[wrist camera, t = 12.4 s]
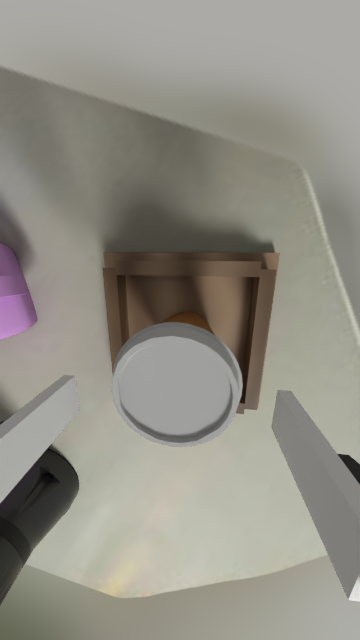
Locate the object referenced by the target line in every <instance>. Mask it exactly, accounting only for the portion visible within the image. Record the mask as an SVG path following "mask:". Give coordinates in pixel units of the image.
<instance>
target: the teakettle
mask: <svg viewBox="0 0 360 640" xmlns="http://www.w3.org/2000/svg"><path fill="white" fill-rule="evenodd" d="M36 322H37V315H36V311H35V308H34V305H33V301H32V298H31V295H30V292H29V290H28V287H27V284H26V281H25V279H24V276H23V273H22V271H21V268H20V266H19V263H18V261H17V259H16V256H15V254H14V252H13V251H12V249H11V248H9V247H7V246H5V245H3V244H0V339H3V338H7V337H10V336H13V335H16V334H18V333H21V332H23V331H25V330H27V329H28V328H30V327H31V326H33V325H34V324H35V323H36Z"/></svg>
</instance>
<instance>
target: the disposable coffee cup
mask: <svg viewBox="0 0 360 640" xmlns="http://www.w3.org/2000/svg"><path fill="white" fill-rule="evenodd" d="M242 387H243V383H242V374H241V371H240V368H239V364H238V362H237V360H236V358H235V356H234V355H233V353H232V352H231V350H230V349H229V348H228V346H227V345H226V344H225V343H224V342H222V341H221V340H220V339H219V338H218V337H217V336H215V334H214V333H213V331H212V330H211V328H210V326H209V325H208V323H207V322H206V320H205V319H204V318H203V317H201V316H200V315H198V314H196V313H193V312H179V313H176V314H174V315H172V316H170V317H169V318H167V319H166V320H164V321H163V322H161V323H160V324H156V325H152V326H150V327H147V328H145V329H143V330H141V331H139V332H138V333H136V334H134V335H133V336H132V337H131V338H130V339H129V340H128V341H127V342H126V343H125V344H124V345H123V347H122V348H121V350H120V351H119V353H118V355H117V358H116V360H115V363H114V369H113V378H112V395H113V400H114V403H115V406H116V408H117V410H118V412H119V414H120V415H121V417H122V418H123V420H124V421H125V422H126V423H127V424H128V425H129V427H130V428H132V429H133V430H134V431H136V432H137V433H138V434H140V435H141V436H143V437H145V438H146V439H148V440H150V441H152V442H156V443H159V444H162V445H166V446H172V447H188V446H195V445H199V444H203V443H205V442H208V441H210V440H212V439H213V438H215V437H217V436H218V435H220V434H221V433H222V432H223V431H224V430H225V429H226V428H227V427H228V425H229V424H230V423H231V422H232V420H233V418H234V415H235V413H236V410H237V407H238V404H239V402H240V399H241V395H242Z"/></svg>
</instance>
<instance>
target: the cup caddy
mask: <svg viewBox="0 0 360 640" xmlns="http://www.w3.org/2000/svg"><path fill="white" fill-rule="evenodd" d="M279 254H280V253H104V261H105V268H103V276H104V287H105V297H106V308H107V319H108V329H109V340H110V350H111V361H112V372H113V369H114V363H115V360H116V358H117V355H118V353H119V351H120V350H121V348H122V347H123V345H124V344H125V343H126V342H127V341H128V340H129V339H130V338H131V337H132V336H133V335H134V334H136V333H138V332H139V331H141V330H143V329H145V328H147V327H150V326H152V325H156V324H160V323H161V322H163V321H164V320H166V319H167V318H169V317H170V316H172V315H174V314H176V313H179V312H193V313H196V314H198V315H200V316H201V317H203V318H204V319H205V320H206V322H207V323H208V325H209V326H210V328H211V330H212V331H213V333H214V334H215V336H217V337H218V338H219V339H220V340H221V341H222V342H224V343H225V344H226V345H227V346H228V348H229V349H230V350H231V352H232V353H233V355H234V356H235V358H236V360H237V362H238V364H239V368H240V371H241V374H242V383H243V387H242V395H241V399H240V402H239V404H238V407H237V410H236V413H239V414H244V409H253V410H257V408H258V403H259V396H260V389H261V382H262V375H263V368H264V361H265V353H266V346H267V339H268V332H269V325H270V318H271V311H272V304H273V296H274V289H275V282H276V275H277V268H278V261H279Z"/></svg>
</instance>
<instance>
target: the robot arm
mask: <svg viewBox="0 0 360 640" xmlns="http://www.w3.org/2000/svg"><path fill="white" fill-rule="evenodd" d="M79 411H80V407H79V401H78V394H77V388H76V381H75V376H69V375H64V376H62V377H61V378H60V379H59V380H57V381H56V382H55V383H53V384H52V385H51V386H50V387H48V388H47V389H46V390H44V391H43V392H42V393H41V394H39V395H38V396H37V397H35V398H34V399H33V400H32V401H30V402H29V403H28V404H26V405H25V406H24V407H23V408H21V409H20V410H19V411H17V412H16V413H15V414H14V415H12V416H11V417H10V418H8V419H7V420H6V421H5V422H4V421H2V422H1V423H0V605H1V603H2V602H3V600H4V598H5V597H6V595H7V593H8V591H9V590H10V588H11V586H12V584H13V583H14V581H15V579H16V578H17V576H18V575H19V573H20V571H21V569H22V568H23V566H24V564H25V563H26V561H27V559H28V558H29V556H30V554H31V553H32V551H33V550H34V548H35V547H36V546H37V544H38V543H39V542H40V541H41V540H42V539H43V538H44V537H45V536H46V534H47V533H48V532H49V531H50V530H51V529H52V528H53V527H54V525H55V524H56V523H57V522H58V521H59V520H60V518H61V517H62V516H63V515H64V514H65V513H66V512H67V511H68V509H69V508H70V506H71V504H72V503H73V501H74V499H75V497H76V495H77V493H78V490H79V482H78V478H77V476H76V473H75V472H74V470H73V468H72V467H71V466H70V465H69V464H68V463H67V462H66V461H65V460H64V459H63V458H62V457H60V456H59V455H58V454H56V453H54V452H52V451H50V450H48V449H47V448H48V447H49V446H50V445H51V443H52V442H53V441H54V440H55V439H56V438H57V436H58V435H59V434H60V433H61V432H62V431H63V429H64V428H65V427H66V426H67V425H68V424H69V422H70V421H71V420H72V419H73V418H74V417H75V415H76V414H77V413H78V412H79ZM272 430H273V432H274V434H275V436H276V439H277V441H278V443H279V445H280V448H281V450H282V452H283V454H284V457H285V459H286V461H287V463H288V466H289V468H290V470H291V472H292V474H293V477H294V479H295V481H296V483H297V486H298V488H299V490H300V492H301V495H302V497H303V499H304V501H305V504H306V506H307V508H308V510H309V513H310V515H311V517H312V519H313V522H314V524H315V526H316V528H317V531H318V533H319V535H320V537H321V540H322V542H323V544H324V546H325V548H326V551H327V553H328V555H329V557H330V560H331V562H332V564H333V566H334V568H335V571H336V573H337V575H338V578H339V580H340V582H341V584H342V587H343V589H344V591H345V593H346V596H347V598H348V600H353V601H359V602H360V464H359V463H357V462H356V461H355V460H354V459H353V458H351V457H350V456H349V455H342V454H337V453H336V452H335V450H334V449H333V448H332V446H331V445H330V444H329V442H328V441H327V439H326V438H325V437H324V435H323V434H322V433H321V431H320V430H319V429H318V427H317V426H316V425H315V423H314V422H313V420H312V419H311V418H310V416H309V415H308V414H307V412H306V411H305V410H304V408H303V407H302V406H301V404H300V403H299V401H298V400H297V399H296V397H295V396H294V395H293V393H292V392H291V391H282V390H278V391H277V397H276V403H275V409H274V415H273V421H272Z"/></svg>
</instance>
